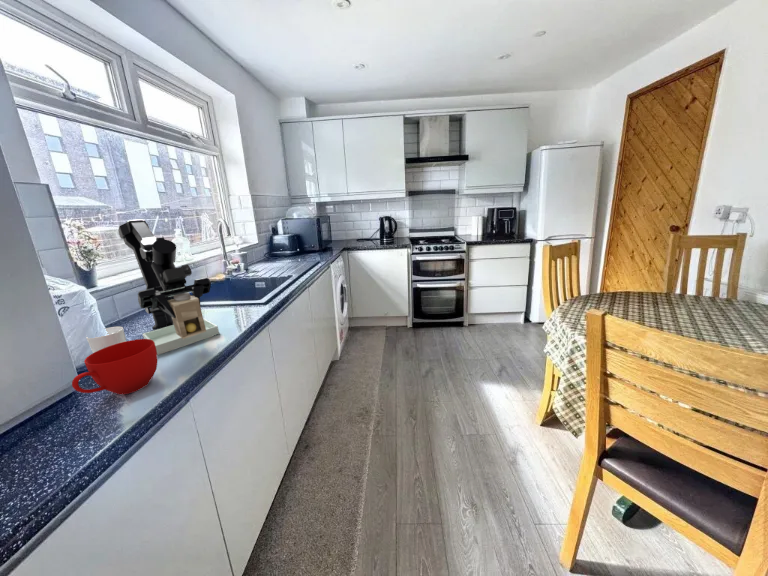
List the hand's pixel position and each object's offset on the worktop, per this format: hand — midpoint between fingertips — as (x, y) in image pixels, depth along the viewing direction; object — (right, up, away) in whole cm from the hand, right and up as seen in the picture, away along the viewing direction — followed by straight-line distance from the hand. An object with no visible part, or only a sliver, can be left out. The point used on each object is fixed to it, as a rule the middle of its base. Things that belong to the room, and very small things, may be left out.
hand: (187, 313), depth 90 cm
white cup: (-19, -14, -3) cm, 24 cm away
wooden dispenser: (-1, -6, +3) cm, 7 cm away
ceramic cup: (-4, -18, -17) cm, 25 cm away
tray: (-10, -9, +12) cm, 18 cm away
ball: (0, -4, +2) cm, 5 cm away
